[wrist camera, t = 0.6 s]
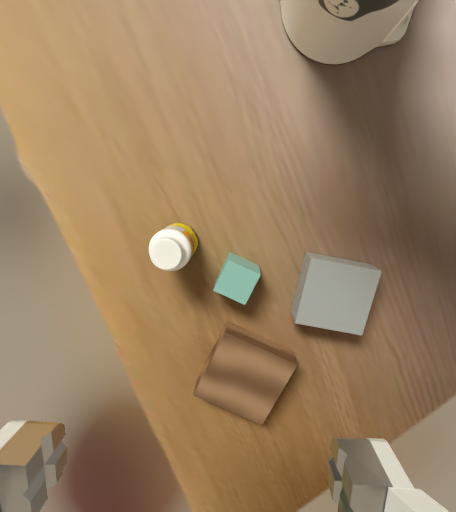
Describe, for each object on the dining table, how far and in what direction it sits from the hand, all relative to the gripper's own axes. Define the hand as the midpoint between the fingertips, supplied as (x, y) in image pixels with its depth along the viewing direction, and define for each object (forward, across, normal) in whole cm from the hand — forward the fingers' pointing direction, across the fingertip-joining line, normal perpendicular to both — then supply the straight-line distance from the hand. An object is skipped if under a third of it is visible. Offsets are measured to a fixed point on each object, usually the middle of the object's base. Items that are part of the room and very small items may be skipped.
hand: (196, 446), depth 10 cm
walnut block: (+40, -3, +22) cm, 45 cm away
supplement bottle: (+40, +8, +1) cm, 41 cm away
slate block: (+40, -16, +8) cm, 43 cm away
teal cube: (+40, -1, +6) cm, 40 cm away
